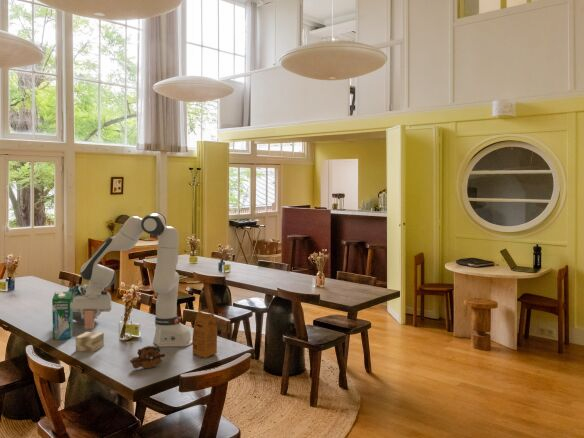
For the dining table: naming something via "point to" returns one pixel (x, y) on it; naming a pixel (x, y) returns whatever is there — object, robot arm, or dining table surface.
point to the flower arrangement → (79, 291)
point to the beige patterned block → (89, 341)
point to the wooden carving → (147, 357)
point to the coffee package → (204, 335)
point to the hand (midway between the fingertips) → (89, 318)
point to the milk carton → (62, 315)
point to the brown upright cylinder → (89, 319)
